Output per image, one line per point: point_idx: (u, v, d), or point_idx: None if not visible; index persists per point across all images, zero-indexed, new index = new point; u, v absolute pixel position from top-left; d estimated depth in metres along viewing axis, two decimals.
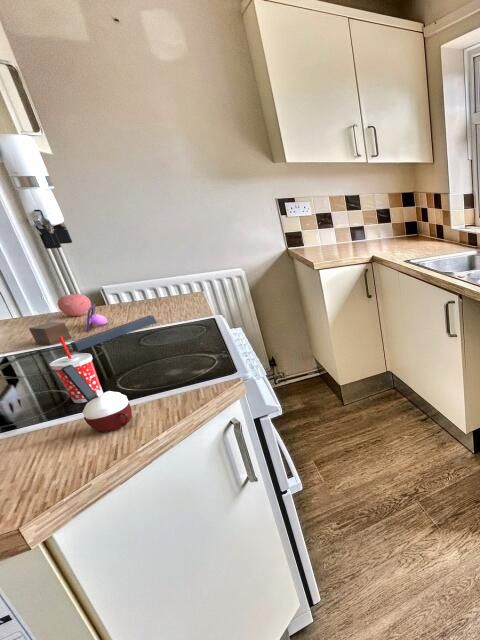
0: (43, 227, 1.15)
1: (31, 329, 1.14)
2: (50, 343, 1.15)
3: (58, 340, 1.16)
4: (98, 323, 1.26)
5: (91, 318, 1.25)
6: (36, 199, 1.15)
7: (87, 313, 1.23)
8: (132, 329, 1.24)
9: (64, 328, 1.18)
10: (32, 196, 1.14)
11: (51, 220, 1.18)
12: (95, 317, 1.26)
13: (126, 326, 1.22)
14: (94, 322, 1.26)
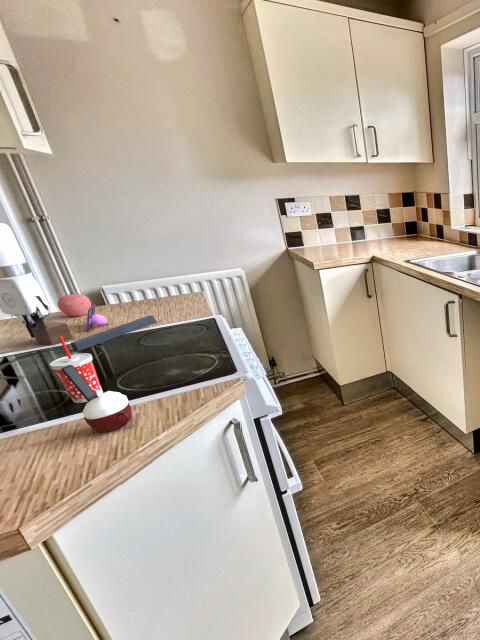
0: (42, 316, 1.16)
1: (33, 329, 1.14)
2: (52, 343, 1.15)
3: None
4: (98, 323, 1.26)
5: (91, 318, 1.25)
6: (34, 286, 1.12)
7: (87, 313, 1.23)
8: (132, 329, 1.24)
9: (66, 328, 1.18)
10: (30, 283, 1.11)
11: None
12: (95, 317, 1.26)
13: (126, 326, 1.22)
14: (94, 322, 1.26)
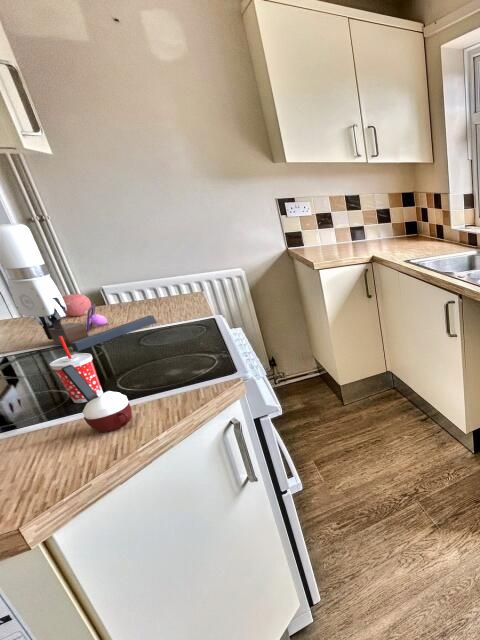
0: (59, 318, 1.15)
1: (50, 330, 1.13)
2: (70, 344, 1.14)
3: None
4: (98, 323, 1.26)
5: (91, 318, 1.25)
6: (52, 287, 1.11)
7: (87, 313, 1.23)
8: (132, 329, 1.24)
9: (83, 329, 1.17)
10: (48, 285, 1.11)
11: (65, 306, 1.15)
12: (95, 317, 1.26)
13: (126, 326, 1.22)
14: (94, 322, 1.26)
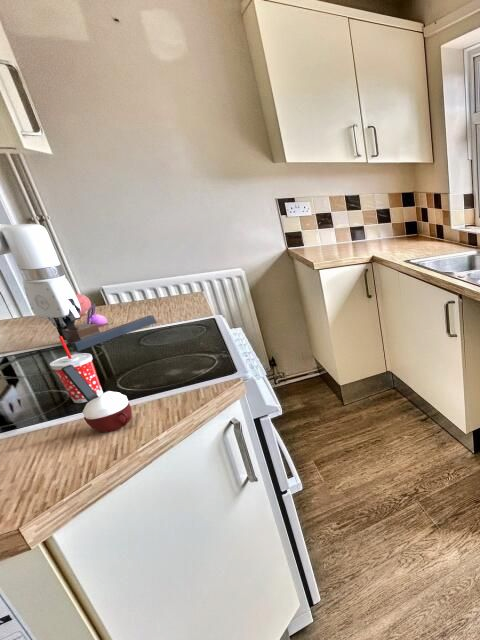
0: (74, 319, 1.14)
1: (64, 331, 1.12)
2: None
3: None
4: (98, 323, 1.26)
5: (91, 318, 1.25)
6: (67, 288, 1.11)
7: (87, 313, 1.23)
8: (132, 329, 1.24)
9: (96, 330, 1.16)
10: (64, 286, 1.10)
11: (80, 307, 1.14)
12: (95, 317, 1.26)
13: (126, 326, 1.22)
14: (94, 322, 1.26)
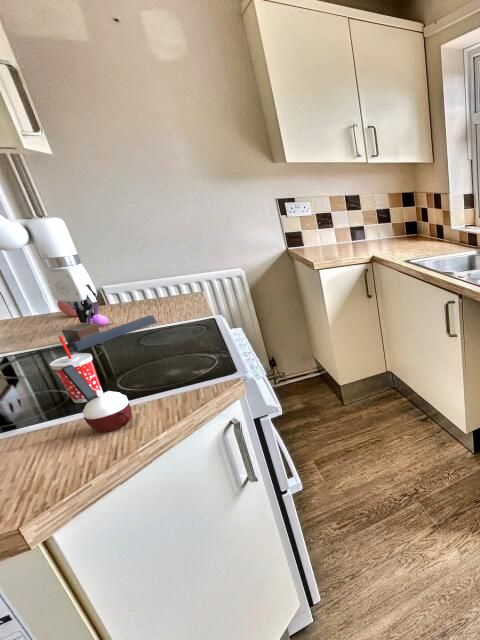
0: (91, 303, 1.27)
1: (64, 331, 1.12)
2: None
3: None
4: (99, 323, 1.26)
5: (92, 318, 1.25)
6: (84, 275, 1.23)
7: (88, 313, 1.23)
8: (132, 329, 1.24)
9: (96, 330, 1.16)
10: (81, 273, 1.22)
11: (96, 292, 1.26)
12: (96, 317, 1.25)
13: (126, 326, 1.22)
14: (95, 322, 1.26)
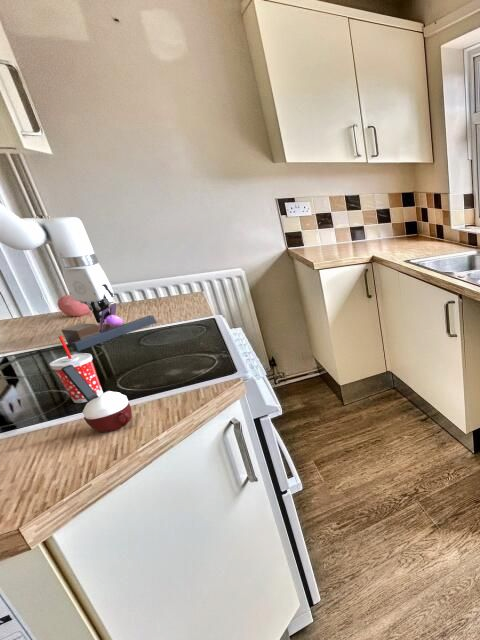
0: (107, 303, 1.26)
1: (64, 331, 1.12)
2: None
3: None
4: (113, 324, 1.25)
5: (106, 319, 1.24)
6: (101, 275, 1.22)
7: (101, 314, 1.22)
8: (132, 329, 1.24)
9: (96, 330, 1.16)
10: (98, 272, 1.22)
11: None
12: (110, 318, 1.24)
13: (126, 326, 1.22)
14: (109, 323, 1.25)
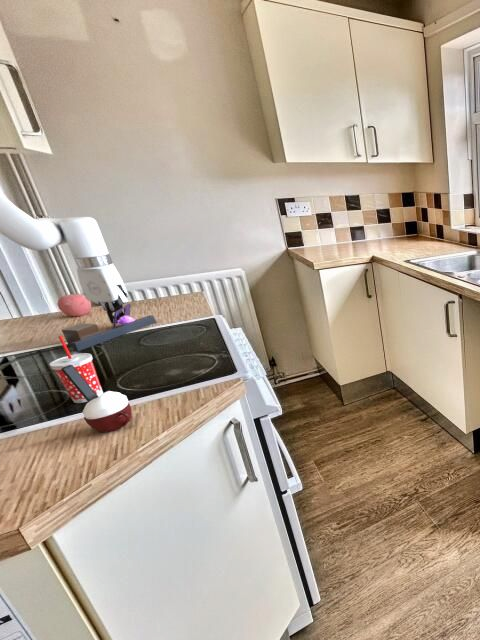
0: (121, 304, 1.25)
1: (64, 331, 1.12)
2: None
3: None
4: None
5: (120, 319, 1.23)
6: (116, 275, 1.22)
7: (114, 315, 1.21)
8: (132, 329, 1.24)
9: (96, 330, 1.16)
10: (113, 273, 1.21)
11: (127, 293, 1.25)
12: (123, 319, 1.24)
13: (126, 326, 1.22)
14: (122, 324, 1.24)
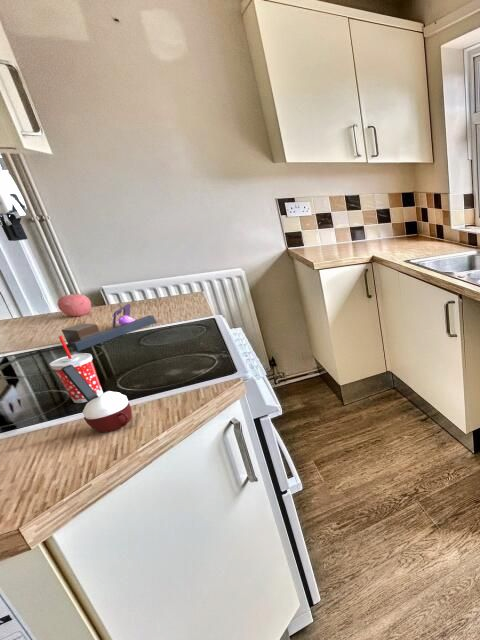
0: (19, 218, 1.11)
1: (64, 331, 1.12)
2: None
3: None
4: None
5: (119, 320, 1.23)
6: (10, 183, 1.08)
7: (113, 315, 1.21)
8: (132, 329, 1.24)
9: (96, 330, 1.16)
10: (5, 179, 1.07)
11: (25, 205, 1.11)
12: (123, 319, 1.24)
13: (126, 326, 1.22)
14: (122, 324, 1.24)
